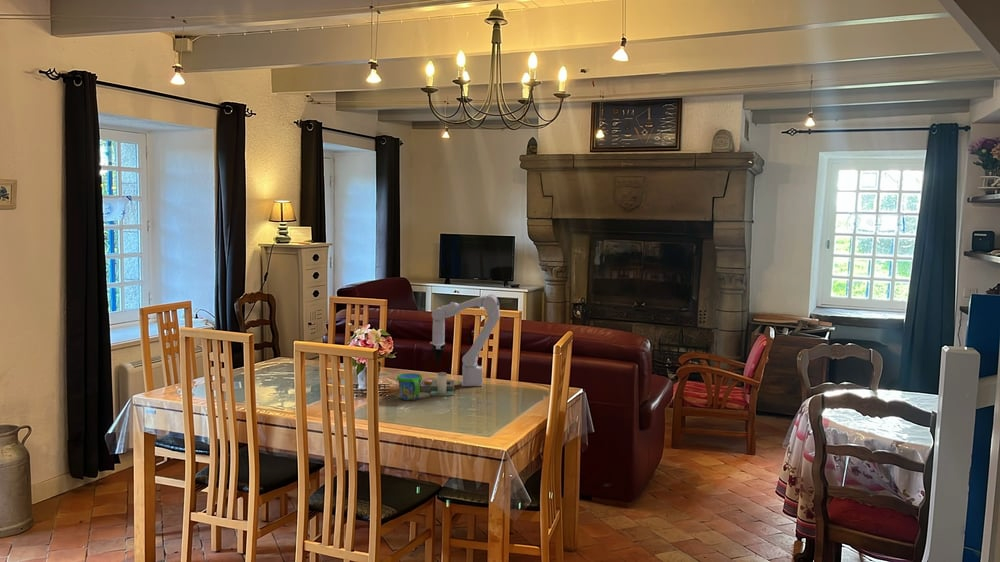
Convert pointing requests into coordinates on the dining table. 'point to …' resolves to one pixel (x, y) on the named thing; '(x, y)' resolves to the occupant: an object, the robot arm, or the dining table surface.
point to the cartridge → (442, 383)
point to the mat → (448, 393)
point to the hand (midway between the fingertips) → (438, 361)
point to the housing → (436, 386)
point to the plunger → (427, 381)
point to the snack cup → (409, 386)
